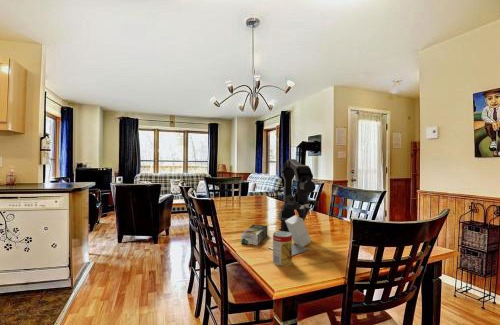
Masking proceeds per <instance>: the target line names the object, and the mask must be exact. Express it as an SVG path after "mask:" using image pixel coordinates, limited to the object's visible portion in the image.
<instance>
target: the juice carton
mask: <svg viewBox="0 0 500 325" xmlns="http://www.w3.org/2000/svg"><path fill="white" fill-rule="evenodd" d="M267 236H268V225H265V224H264V225H262V224H252V225H250V226H249V227H247V229H246V230H244V231H243V232H241V233H240V244H241V243H242V244H247V245H250V244H253V246H258V245H259V244H261V243H260V242H262V241H263V240H264V239H265V238H267Z"/></svg>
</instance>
